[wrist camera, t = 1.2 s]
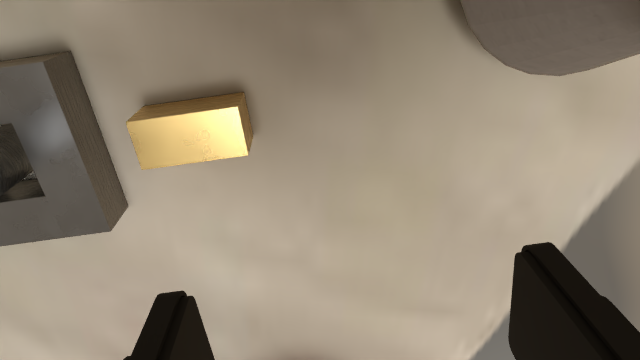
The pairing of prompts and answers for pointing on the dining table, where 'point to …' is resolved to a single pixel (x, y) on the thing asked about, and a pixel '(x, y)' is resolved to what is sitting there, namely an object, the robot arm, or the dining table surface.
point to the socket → (56, 154)
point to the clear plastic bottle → (12, 159)
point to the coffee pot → (556, 32)
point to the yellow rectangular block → (191, 131)
